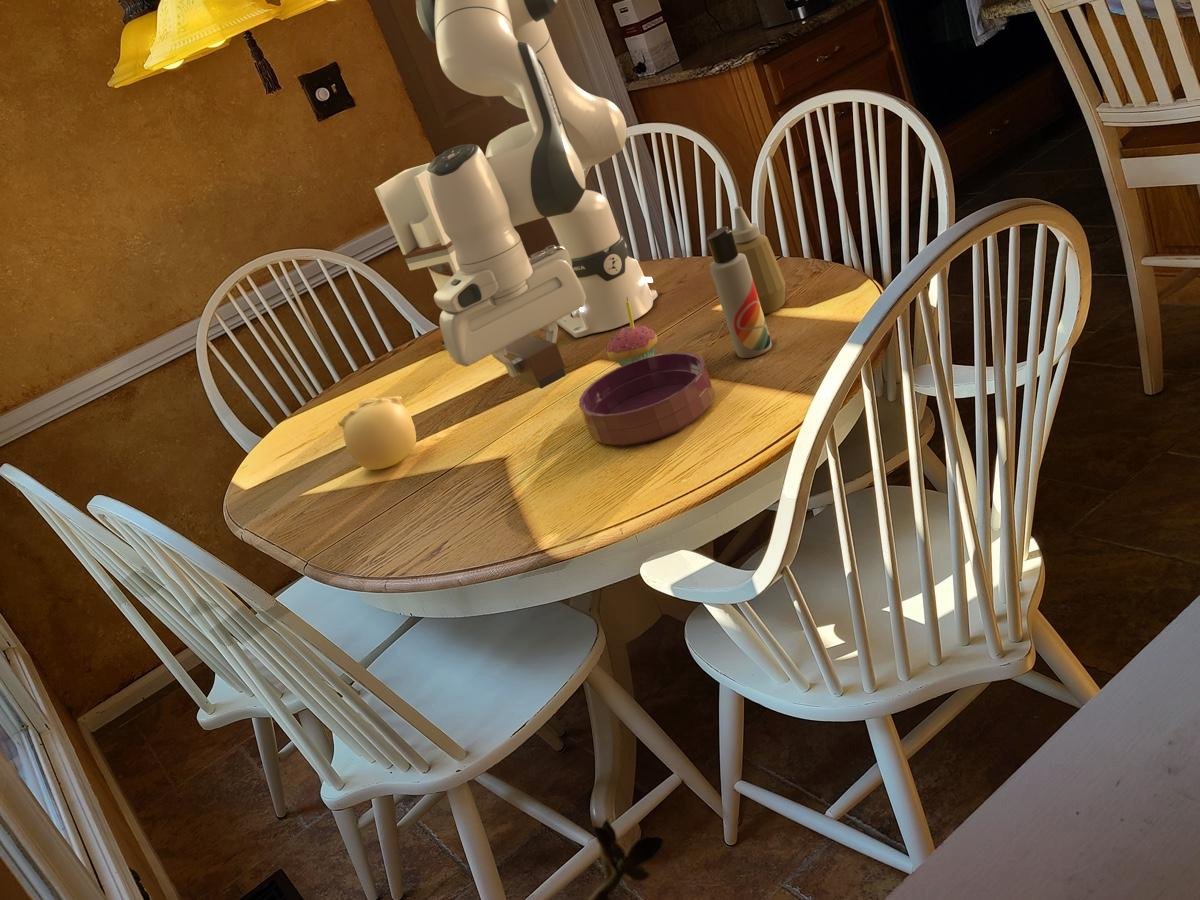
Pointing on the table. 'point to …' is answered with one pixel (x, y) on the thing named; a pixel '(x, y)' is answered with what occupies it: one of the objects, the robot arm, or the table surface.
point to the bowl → (647, 399)
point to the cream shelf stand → (418, 224)
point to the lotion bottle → (738, 295)
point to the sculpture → (379, 432)
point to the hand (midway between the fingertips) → (534, 365)
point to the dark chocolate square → (536, 361)
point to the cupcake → (631, 342)
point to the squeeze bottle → (759, 262)
